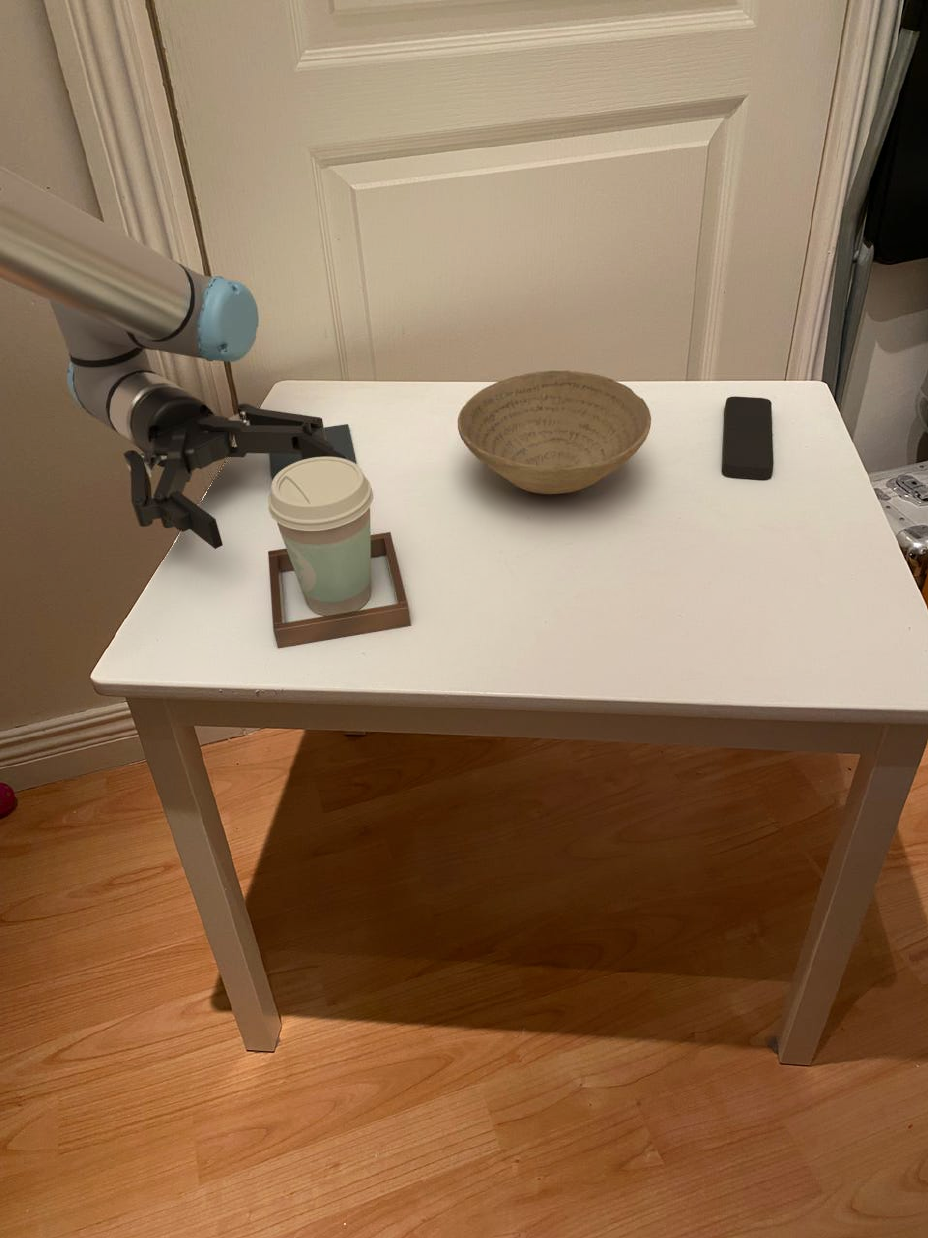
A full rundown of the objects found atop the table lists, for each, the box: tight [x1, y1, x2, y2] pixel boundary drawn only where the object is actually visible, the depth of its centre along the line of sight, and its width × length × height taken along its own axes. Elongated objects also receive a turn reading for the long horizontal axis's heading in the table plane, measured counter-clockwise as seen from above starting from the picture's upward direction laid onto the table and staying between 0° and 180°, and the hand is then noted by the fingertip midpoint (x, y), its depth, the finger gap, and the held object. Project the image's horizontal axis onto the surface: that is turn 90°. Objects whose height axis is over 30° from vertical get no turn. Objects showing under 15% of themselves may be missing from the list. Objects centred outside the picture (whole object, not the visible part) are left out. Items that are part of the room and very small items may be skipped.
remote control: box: [721, 396, 774, 481], centre depth 98 cm, size 5×2×15 cm
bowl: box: [457, 370, 652, 495], centre depth 92 cm, size 18×18×8 cm
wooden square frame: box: [267, 531, 412, 649], centre depth 82 cm, size 11×11×2 cm
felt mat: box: [269, 423, 358, 482], centre depth 102 cm, size 9×9×1 cm
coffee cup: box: [268, 457, 374, 616], centre depth 79 cm, size 8×8×12 cm
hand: (282, 501), depth 82 cm, fingers open, 13 cm apart
